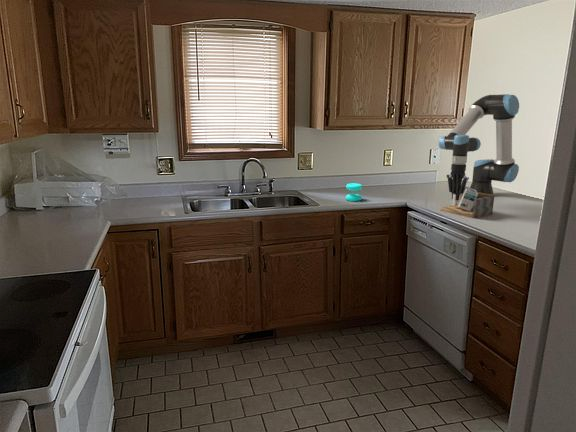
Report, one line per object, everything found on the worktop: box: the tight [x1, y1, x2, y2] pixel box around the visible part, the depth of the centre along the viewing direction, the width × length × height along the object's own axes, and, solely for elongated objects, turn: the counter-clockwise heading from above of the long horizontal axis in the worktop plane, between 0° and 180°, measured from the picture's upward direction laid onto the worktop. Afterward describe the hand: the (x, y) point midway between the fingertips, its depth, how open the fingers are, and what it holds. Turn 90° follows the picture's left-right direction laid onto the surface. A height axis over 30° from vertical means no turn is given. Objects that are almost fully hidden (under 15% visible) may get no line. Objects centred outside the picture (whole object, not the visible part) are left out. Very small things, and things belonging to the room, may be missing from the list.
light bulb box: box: [458, 186, 478, 211], centre depth 243 cm, size 11×7×11 cm, turn 164°
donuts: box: [345, 182, 363, 202], centre depth 276 cm, size 10×10×10 cm
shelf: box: [439, 192, 495, 219], centre depth 244 cm, size 16×22×10 cm
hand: (454, 205), depth 248 cm, fingers closed
